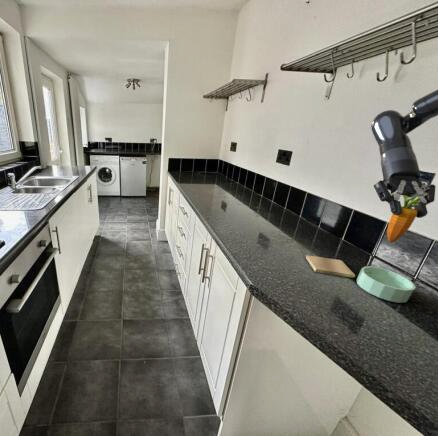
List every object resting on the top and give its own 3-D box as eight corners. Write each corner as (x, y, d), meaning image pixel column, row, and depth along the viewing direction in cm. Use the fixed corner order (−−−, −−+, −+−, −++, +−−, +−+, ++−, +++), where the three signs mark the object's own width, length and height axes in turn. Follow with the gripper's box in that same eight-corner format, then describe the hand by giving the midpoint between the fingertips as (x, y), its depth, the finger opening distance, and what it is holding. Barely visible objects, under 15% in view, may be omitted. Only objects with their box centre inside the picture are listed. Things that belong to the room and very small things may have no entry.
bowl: (390, 282, 79) (397, 270, 77) (418, 307, 68) (427, 293, 66) (348, 275, 81) (354, 263, 80) (369, 298, 70) (376, 285, 69)
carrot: (376, 237, 74) (397, 192, 68) (397, 240, 72) (420, 194, 66) (382, 244, 70) (406, 196, 64) (404, 248, 68) (430, 199, 62)
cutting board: (340, 262, 89) (341, 260, 89) (354, 278, 80) (355, 275, 80) (305, 257, 92) (306, 255, 91) (315, 271, 83) (316, 268, 83)
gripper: (380, 156, 70) (389, 206, 64) (439, 159, 66) (455, 213, 60) (363, 170, 76) (370, 217, 70) (416, 174, 73) (428, 223, 67)
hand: (409, 215), depth 65 cm, fingers closed on carrot, 5 cm apart
